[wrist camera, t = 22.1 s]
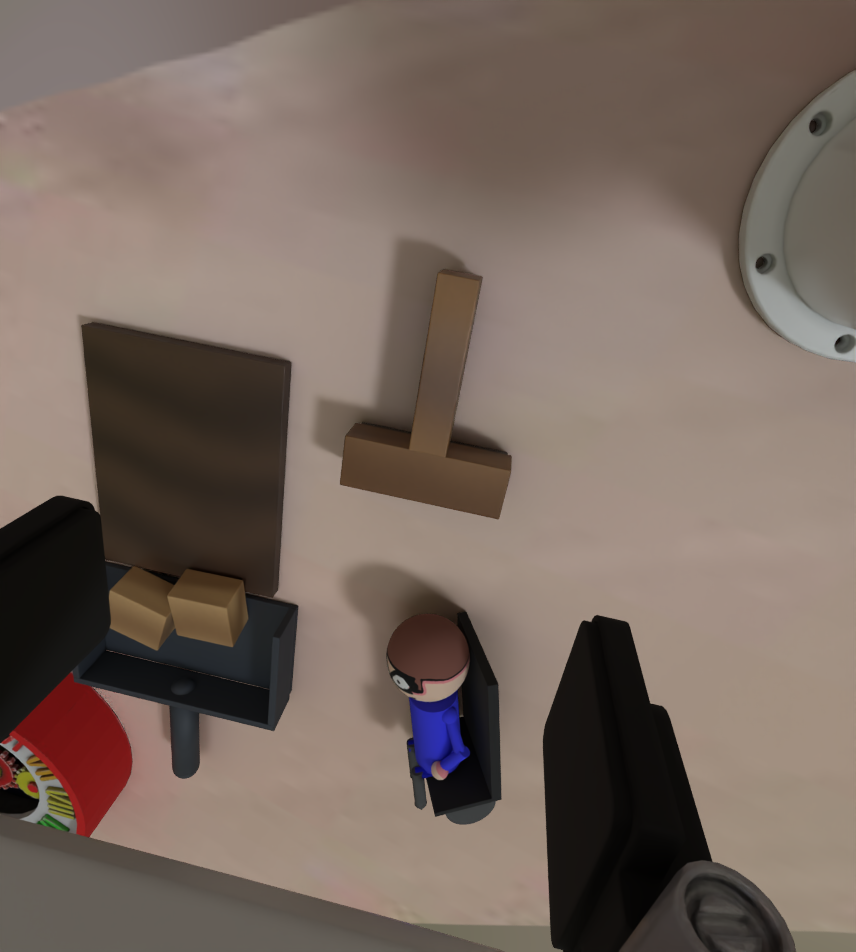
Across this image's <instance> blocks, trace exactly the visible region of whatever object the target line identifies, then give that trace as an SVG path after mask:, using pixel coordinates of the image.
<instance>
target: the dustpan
mask: <svg viewBox="0 0 856 952" xmlns="http://www.w3.org/2000/svg"><path fill="white" fill-rule="evenodd" d="M105 564H106V574H107V584H108V594H109V593H110V590H111V589H112V588H113V587H114V586H115V585H116V584H117V582H118V581H119V580H120V579H121V578H122V577H123V576H124V575H125V574H126V573H127V572H128V571H129V570H130V569H131V568H130V567H126V566H122V565H117V564H113V563H109V562H105ZM147 572H148V571H147ZM149 573H151V574H153V575H155V576H157V577H159V578H161V579H163V580H165V581H167V582H169V583H171V584H173V585H175V584H176V583H177V581H178V580H179V579H178V578H174V577H170V576H165V575H161V574H156V573H152V572H149ZM245 597H246V605H247V612H248V621H247V622H246V624H245V626H244V628H243V630H242V632H241V633H240V635H239V637H238V639H237V641H236V643H235V644H234V646H233V647H229V646H225V645H220V644H215V643H211V642H206V641H202V640H197V639H193V638H188V637H184V636H179V635H177V633H176V629H174V630H173V631H172V633H171V634H170V635H169V636H168V638H167V639H166V640H165V642H164V643H163V644H162V645H161V647H160V648H159V649H158V650H157V651H156V650H154V649H152V648H150V647H148V646H146V645H144V644H142V643H140V642H138V641H136V640H134V639H132V638H129V637H127V636H125V635H123V634H121V633H119V632H117V631H115V630H113V629H111V628H109V631H108V633H107V635H106V636H105V638H104V639H103V640H102V641H101V642H100V643H99V644H98V645H97V646H96V647H95V648H94V649H93V650H92V651H91V652H90V653H89V654H88V655H87V656H86V657H85V658H84V659H83V660H82V661H81V662H80V663H79V664H78V665H77V666H76V667H75V668H74V669H73V670H72V671H73V677H74V682H76V683H80V684H84V685H88V686H92V687H96V688H100V689H104V690H108V691H112V692H116V693H121V694H125V695H129V696H133V697H137V698H141V699H145V700H149V701H153V702H157V703H161V704H165V705H169V707H170V728H171V750H172V769H173V772H174V774H175V775H176V776H177V777H179V778H182V779H185V778H189V777H191V776H193V775H194V774H195V773H196V771H197V770H198V768H199V764H200V750H199V713H202V714H206V715H210V716H214V717H218V718H222V719H227V720H231V721H235V722H239V723H243V724H247V725H251V726H255V727H259V728H263V729H267V730H271V731H274V730H275V728H276V726H277V723H278V721H279V719H280V717H281V715H282V713H283V711H284V709H285V707H286V705H287V703H288V701H289V694H290V692H291V690H292V678H293V666H294V653H295V640H296V628H297V615H298V606H296V605H291V604H287V603H283V602H278V601H274V600H270V599H265V598H261V597H257V596H252V595H248V594H245ZM107 650H109V651H107ZM111 651H114V652H111ZM115 652H118V653H115ZM119 653H122V654H119ZM123 654H126V655H123ZM127 655H130V656H127ZM132 656H134V657H132ZM136 657H138V658H136ZM140 658H143V659H140ZM144 659H147V660H144ZM148 660H151V661H148ZM152 661H155V662H152ZM156 662H159V663H156ZM161 663H163V664H161ZM165 664H168V665H165ZM169 665H172V666H169ZM173 666H176V667H173ZM177 667H180V668H177ZM181 668H184V669H181ZM186 669H188V670H186ZM190 670H193V671H190ZM194 671H197V672H194ZM198 672H201V673H198ZM202 673H205V674H202ZM206 674H209V675H206ZM211 675H213V676H211ZM215 676H217V677H215ZM219 677H222V678H219ZM223 678H226V679H223ZM227 679H230V680H227ZM231 680H234V681H231ZM235 681H238V682H235ZM240 682H242V683H240ZM244 683H247V684H244ZM248 684H251V685H248ZM252 685H255V686H252ZM256 686H259V687H256ZM260 687H263V688H260ZM265 688H267V689H265ZM269 689H270V690H269Z"/></svg>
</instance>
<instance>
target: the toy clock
mask: <svg viewBox="0 0 856 952" xmlns="http://www.w3.org/2000/svg"><path fill="white" fill-rule="evenodd" d="M131 767H132V755H131V747H130V744H129V741H128V738H127V735H126V732H125V730H124V729H123V727H122V725H121V723H120V721H119V719H118V718H117V716H116V715H115V713H114V712H113V711H112V709H111V708H110V707H109V705H108V704H107V703H106V701H105V700H104V699H103V698H102V697H101V696H100V695H99V694H98V693H97V692H96V691H95V690H94V689H93V688H92V687H91V686H88V685H84V684H80V683H76V682H74V677H73V672H72V671H71V672H70V673H69V675H68V676H67V677H66V678H65V679H64V680H63V681H62V682H61V683H60V684H59V685H58V686H57V687H56V688H55V689H54V690H53V691H52V692H51V693H50V694H49V695H48V696H47V697H46V698H45V699H44V700H43V701H42V702H41V703H40V704H39V705H38V706H37V707H36V708H35V709H34V710H33V711H32V712H31V713H30V714H29V715H28V716H27V717H26V718H25V719H24V720H23V721H22V722H21V723H20V724H19V725H18V726H17V727H16V728H15V729H14V730H13V731H12V732H11V733H10V734H9V735H8V736H7V737H6V738H5V739H4V740H3V741H2V742H1V743H0V814H1V815H5V816H9V817H12V818H16V819H20V820H24V821H28V822H32V823H36V824H40V825H43V826H47V827H51V828H55V829H59V830H63V831H66V832H70V833H74V834H78V835H82V836H85V837H90V835H91V834H92V832H93V831H94V830H95V828H96V827H97V825H98V824H99V822H100V821H101V820H102V818H103V817H104V815H105V814H106V812H107V811H108V810H109V808H110V807H111V805H112V804H113V803H114V801H115V800H116V798H117V797H118V795H119V794H120V793H121V791H122V790H123V788H124V787H125V785H126V783H127V781H128V779H129V777H130V774H131Z"/></svg>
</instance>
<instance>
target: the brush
mask: <svg viewBox="0 0 856 952" xmlns="http://www.w3.org/2000/svg"><path fill="white" fill-rule="evenodd" d="M481 283H482V276H478V275H473V274H468V273H462V272H457V271H452V270H447V269H443V270H441V271H440V272H438V274H437V280H436V286H435V292H434V298H433V304H432V310H431V316H430V322H429V328H428V335H427V341H426V347H425V353H424V359H423V365H422V371H421V377H420V383H419V389H418V395H417V401H416V407H415V413H414V420H413V426H412V432H407V431H403V430H398V429H393V428H388V427H384V426H379V425H374V424H369V423H365V422H362V423H361V424H360V423H355V424H354V426H353V427H352V428H351V429H350V431H349V432H348V433H347V434H346V436H345V442H344V451H343V460H342V469H341V478H340V485H344V486H348V487H353V488H358V489H362V490H367V491H371V492H376V493H380V494H385V495H390V496H394V497H399V498H403V499H408V500H412V501H417V502H422V503H426V504H431V505H435V506H440V507H445V508H449V509H454V510H458V511H463V512H467V513H472V514H477V515H481V516H486V517H490V518H495V519H499V517H500V513H501V509H502V505H503V501H504V497H505V493H506V490H507V486H508V482H509V478H510V474H511V459H512V457H511V455H508V453H507V452H502V451H497V450H493V449H488V448H483V447H478V446H474V445H469V444H464V443H459V442H455V441H450V440H451V435H452V430H453V425H454V420H455V415H456V410H457V405H458V400H459V395H460V390H461V385H462V380H463V375H464V369H465V364H466V359H467V354H468V349H469V344H470V339H471V334H472V329H473V324H474V319H475V314H476V309H477V304H478V299H479V294H480V288H481Z"/></svg>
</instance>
